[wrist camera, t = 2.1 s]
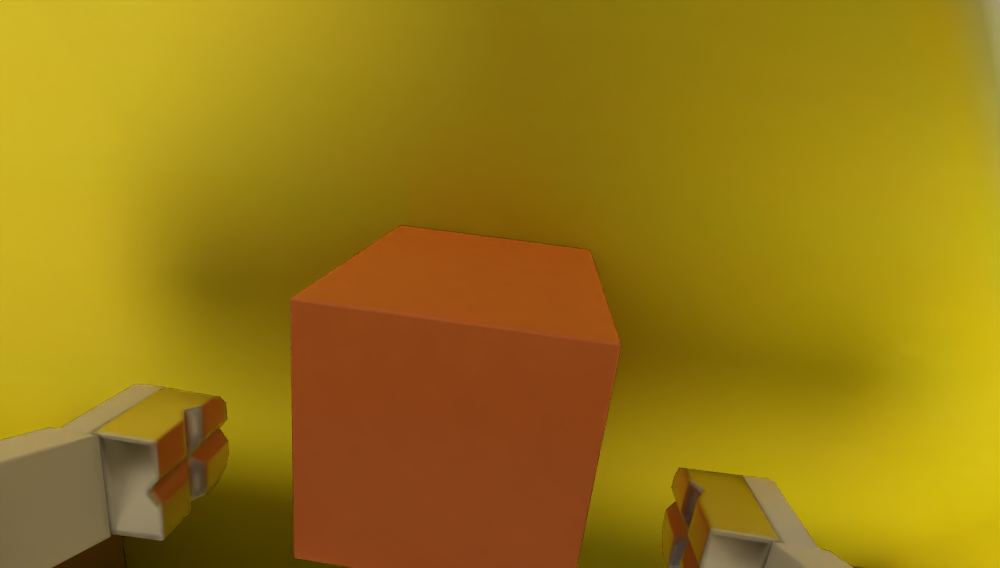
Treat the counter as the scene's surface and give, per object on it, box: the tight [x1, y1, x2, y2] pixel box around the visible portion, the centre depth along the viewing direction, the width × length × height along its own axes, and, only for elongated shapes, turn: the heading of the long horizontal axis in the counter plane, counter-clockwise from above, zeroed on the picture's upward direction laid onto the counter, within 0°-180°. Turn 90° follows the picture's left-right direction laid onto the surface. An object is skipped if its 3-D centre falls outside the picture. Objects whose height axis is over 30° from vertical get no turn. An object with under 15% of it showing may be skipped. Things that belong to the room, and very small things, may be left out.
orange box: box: [290, 225, 621, 568], centre depth 11 cm, size 5×5×6 cm
